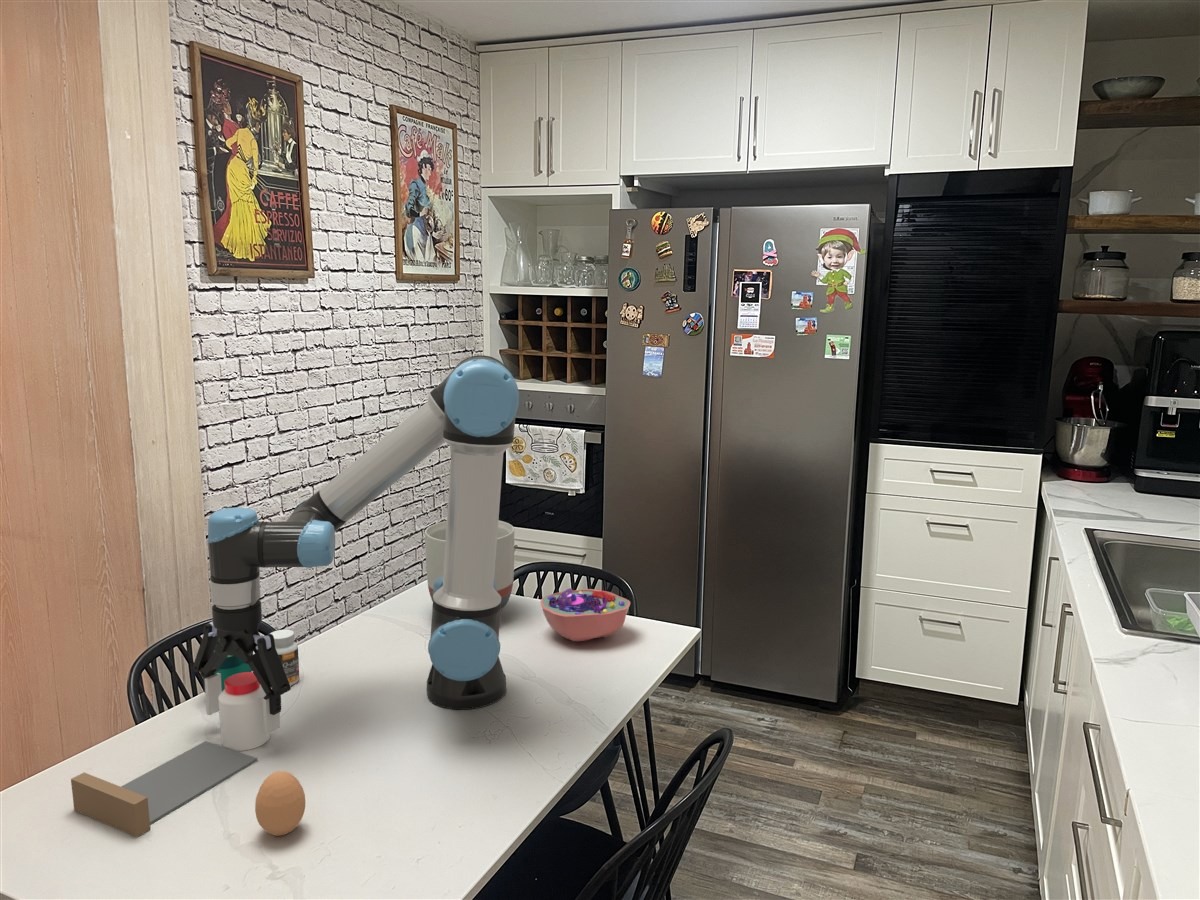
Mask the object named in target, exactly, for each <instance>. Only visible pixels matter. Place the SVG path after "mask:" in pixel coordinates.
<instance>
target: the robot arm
mask: <svg viewBox="0 0 1200 900" xmlns="http://www.w3.org/2000/svg"><path fill="white" fill-rule="evenodd" d="M427 398H428V399H427V401H426V402H425V403H424V404H422V405H421V407H419V408H418V409H417V410H416V411H414V412H413V413H412V414H411V415H409V416H408V417H407V418H406V419H404V420H403V421H402V422H401V423H400V424H398V425H397V426H396V427H394V429H392V430H391V431H390V432H389V433H388V434H386V435H385V436H384V437H383V438H381V439H380V440H379V441H378V442H377V443H374V445H373V446H371V447H370V448H369V449H368V450H366V451H365V452H364V453H363V454H361V456H359V457H358V458H357V459H355V460H354V461H353V462H352V463H351V464H349V465H348V466H346V468H344V469H343V470H342V471H340V472H339V473H338V474H336V476H335V477H333V478H332V479H331V480H330V481H328V482H327V483H326V484H324V486H322V487H321V488H320V489H319V490H318V491H316V492H315V493H314V494H313V495H311V496H309V498H307V499H305V500H303V501H301V502H300V503H299V504H298V505H297V506H296V507H295V508H294V510H293V511H292V512H291V514H290V516H289V517H288V518H287V519H286V521H259V517H258V514H257V513H258V512H256V510H255V509H253V508H250V507H249V508H247V507H242V506H241V507H239V506H238V507H229V508H222V509H218V510H216V511H214V512H212V513H211V515H209V517H208V520H207V540H206V542H207V545H208V547H207V548H208V549H207V550H208V559H209V561H208V562H209V572H210V576H209V577H210V580H209V581H210V582H209V583H210V585H209V586H210V602H211V603H212V604H213V605H212V607H211V613H212V614H211V615H212V617H211V618H212V621H210V622H208V623H206V624H204V625H203V628H202V629H203V630H202V631H203V632H202V633H203V635H202V638H201V642H200V645H199V647H198V650H197V653H196V656H195V660H194V662H193V664H192V669H193V671H194V672H195V673H197V672H199V673H200V676H201V677H202V683H203V692H204V695H205V708H206V715H207V716H211V715H213V714H215V713H217V712H219V703H218V697H219V694H220V693H221V692H222V687H221V674H220V673H216V674H215V672H217V671H219V670H218V669H219V667H220V666H221V664H222V663H223V662H224V660H225V659H226V657H227V656H228V655H230V656H236V657H238V658H242V660H243V662H244V663H246V664H248V665H249V666H250V668H251V670H252V673H254V675H255V677H256V678H257V680H258V682H259V683H260V685H261V687H262V688H263V690H264V692H265V694H266V695H265V696H263V697H262V698H263V719H264V734H267V735H268V734H269V733H270V734H271V733H273V732H275V731H276V730H278V729H280V728H281V718H280V717H281V716H280V713H281V712H282V695H284V694H285V693H287V692H289V691H291V689H292V687H291V686H290V684H289V681H288V679H287V676H286V674H285V671H284V669H283V666H282V664H281V661H280V658H279V656H278V653H277V651H276V648H275V642H274V636H273V635H272V634H270V633H269V634H267V635H260V632H259V626H260V624H261V622H262V619H263V618H262V617H263V614H262V611H263V610H262V601H261V600H260V599H261V582H260V581H261V580H260V579H261V578H260V577H261V576H260V568H265V569H266V568H306V569H308V568H310V569H311V568H315V567H324V566H325V567H326V566H329V565H330V564H332V563H333V561H334V559H335V558H334V557H335V553H336V532H337V531H338V530H339V529H341V528H342V527H343V526H344V525H345V524H346V523H347V522H348V521H349V520H351V519H352V518H353V517H354V516H356V515H358V513H360V512H361V511H362V510H363V509H364V508H365V507H367V506H368V505H369V504H371V503H372V502H373V501H375V500H376V499H377V498H378V497H380V496H381V495H382V494H383V493H384V492H386V491H387V490H388V489H389V488H390V487H392V486H393V485H394V484H395V483H397V482H398V481H399V480H401V479H402V478H403V477H404V476H405V475H406V474H408V473H409V472H410V471H412V469H414V468H415V467H417V466H418V465H419V464H420V463H421V462H423V461H424V460H426V459H427V457H429V456H430V455H431V454H432V453H434V452H435V451H436V450H437V449H439V448H440V447H441V446H443V444H445V443H446V444H447V445H448V446H449V447H450V449H451V453H450V465H449V466H450V467H449V468H450V469H449V481H448V483H449V485H448V499H447V513H446V514H447V515H446V521H447V528H446V544H445V559H444V575H443V576H441V577H439V578H437V579H436V580H435V582H434V586H433V591H432V593H433V594H434V595H433V601H432V605H431V607H432V609H431V624H430V639H429V641H428V645H427V649H428V650H427V651H428V654H429V655H428V656H429V659H430V662H431V667H430V670H429V673H428V676H427V679H426V696H427V699H428V700H429V701H430V702H431V703H432V704H435V705H436V706H439V707H442V708H446V709H453V710H468V709H469V710H472V709H477V708H482V707H486V706H488V705H491V704H493V703H496V702H498V701H499V700H501V699H502V698H503V697H504V696H505V695H506V693H507V677H506V674H505V672H504V668H503V666H502V663H501V660H500V657H499V655H500V652H501V642H500V622H501V611H502V610H501V596H500V595H499V593H498V592H497V588H496V582H495V579H494V573H495V559H496V546H497V532H498V520H500V517H499V515H500V503H501V490H502V476H503V463H504V453H505V452H506V451H507V450H508V449H509V448H510V447H511V446H512V445H513V444H514V436H515V425H516V424H515V423H516V415H517V411H518V409H519V406H520V391H519V387H518V384H517V382H516V379H515V378H514V376H513V374H512V373H511V372H510V370H509V367H507V366H506V365H505V364H504V363H503V362H502V361H500V360H498V359H497V358H495V357H494V356H493V357H492V356H489V355H483V354H482V355H481V354H480V355H479V354H478V355H472V356H469V357H466V358H465V359H462V360H461V361H460V362H458V363H457V364H456V366H455V367H454V368H453V369H452V370H451V371H450V373H449V374H448V375H447V376H446V377H445V379H443V380H442V381H441V382H440V383H439V384H438V385H437V386H435V388H434V389H433V390H431V391H430V392H429V393H428V397H427ZM500 610H501V611H500ZM218 639H220V641H219V644H218V645H217V642H218ZM216 645H217V646H216ZM215 647H216V648H215ZM214 650H215V652H214ZM254 652H255V653H254ZM249 655H251V656H249Z"/></svg>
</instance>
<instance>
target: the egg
mask: <svg viewBox="0 0 1200 900" xmlns="http://www.w3.org/2000/svg"><path fill="white" fill-rule="evenodd" d="M254 803H255V805H254V806H255V807H254V810H255V811H254V813H255V817H256V820H257V823H258V825H259V826H260V827H261V828H262V830H264V831H265V832H266V833H268V834H270V835H273V836H276V837H277V836H285V835H286V834H289V833H291V832H292V831H293V830H294V829H296V828H297V826H298V825H299V824H300V822H301V820H302V819H303V816H304V813H305V809H306V795H305V791H304V788H303V785H302V784H301V782H300V781H299V780H298V778H297V777H296V776H295V775H293V774H292V773H291V772H288V771H285V770H279V771H275V772H272V773H271V774H269V775H268V776H267V777H266V778H265V779H264V780H263V782H262V784H261V786H260V787H259V788H258V792H257V794H256V796H255V802H254Z"/></svg>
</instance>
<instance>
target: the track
mask: <svg viewBox="0 0 1200 900" xmlns="http://www.w3.org/2000/svg"><path fill="white" fill-rule="evenodd" d="M256 762H258V758H257V757H256V756H255V757H254V756H252V755H250V754H245V753H243V752H241V751H234V750H231V749H229V748H226V747H223V746H222V745H219V744H216V743H213V742H210V741H207V740H204V741H202V742H201V743H199V744H197V745H195V746H194V747H191V748H190V749H188V750H186V751H183V753H180V754H179V755H177V756H175V757H173V758H172V759H169V760H167V761H166V762H164V763H162V764H160V765H158V766H157V767H155V768H153V769H151V770H148V771H147V772H146V773H144V774H142V775H139V776H138V777H136V778H134V779H132V780H131V781H128V782H127V783H125V784H123V785H121V786H119V785H117V784H116V783H112V782H110V781H107V780H106V779H105V780H104V779H103V778H99V777H97V776H94V775H92V774H90V773H87V772H82V773H80V774H78V775H76V776H74V777H72V778H70V783H71V791H72V792H71V793H72V800H73V801H72V803H73V809H74V811H75V812H77V813H81V814H83V815H84V816H87V817H90V818H91V819H93V820H97V821H99V822H101V823H104V824H105V825H107V826H111V827H113V828H115V829H117V830H120V831H122V832H124V833H127V834H129V835H132V836H133V837H137V838H139V837H140V836H142V835H144V834H146V832H149V831H150V830H151V825H153V824H155V823H156V822H157V821H159V820H160V819H162V818H164V817H166V816H167V815H168V814H169V815H170V813H172V812H174V811H176V810H177V809H179V808H181V807H182V806H185V804H187V803H189V802H191V801H192V800H194V799H195V798H198V797H199V796H200V795H203V794H204V793H205V792H207V791H209V790H210V789H212V788H214V787H215V786H217V785H219V784H221V783H222V782H224V781H226V780H227V779H229V778H230V777H233V776H234V775H235V774H237V773H239V772H241V771H243V770H244V769H246V768H248V767H249V766H251V765H252V764H254V763H256Z"/></svg>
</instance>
